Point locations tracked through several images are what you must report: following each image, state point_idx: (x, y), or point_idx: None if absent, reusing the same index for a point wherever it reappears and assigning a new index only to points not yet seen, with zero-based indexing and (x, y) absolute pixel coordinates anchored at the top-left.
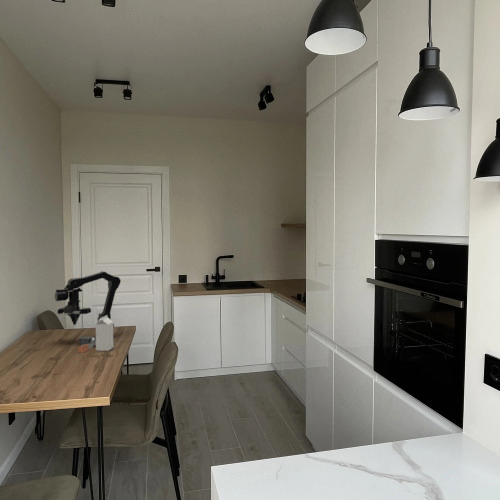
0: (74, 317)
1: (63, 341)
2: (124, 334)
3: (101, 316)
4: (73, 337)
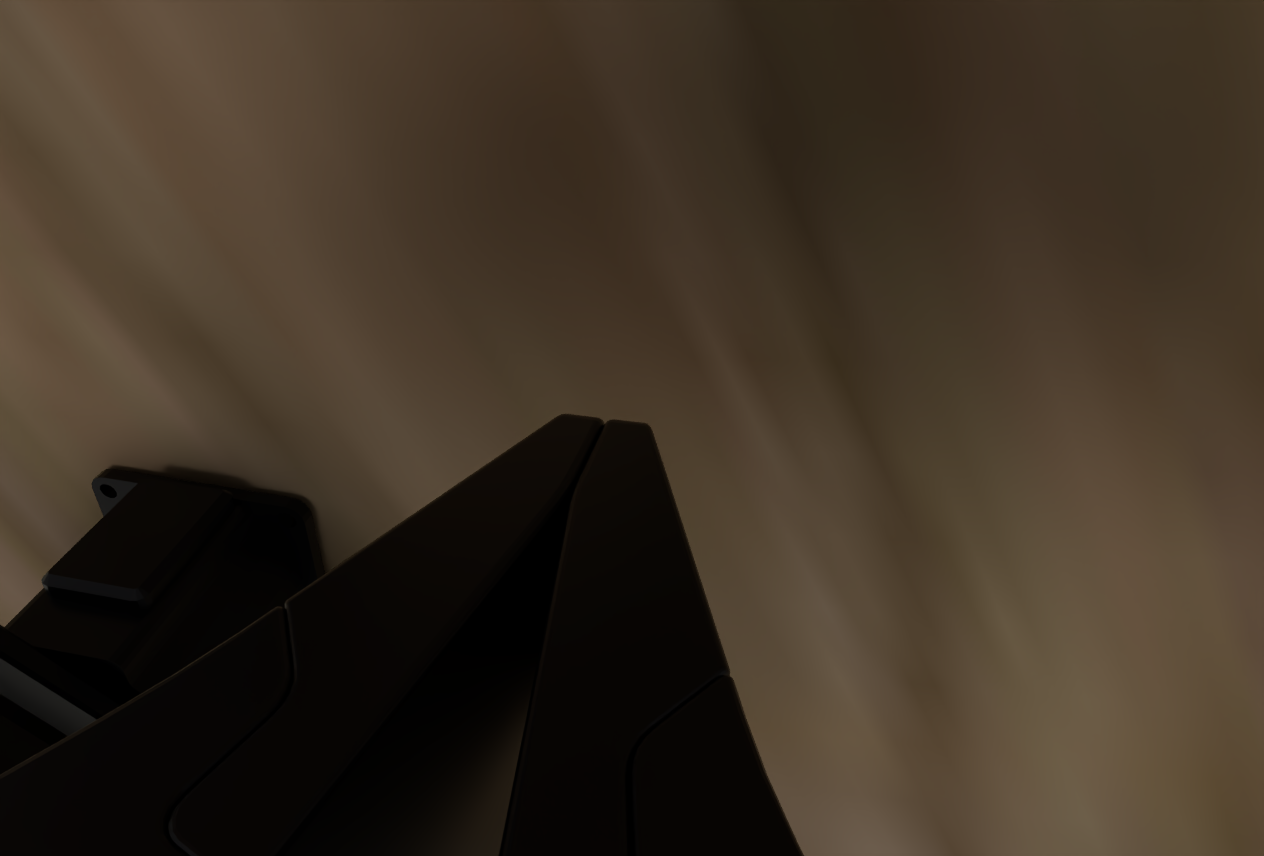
0: (214, 836)
1: (1154, 238)
2: None
3: None
4: (981, 608)
